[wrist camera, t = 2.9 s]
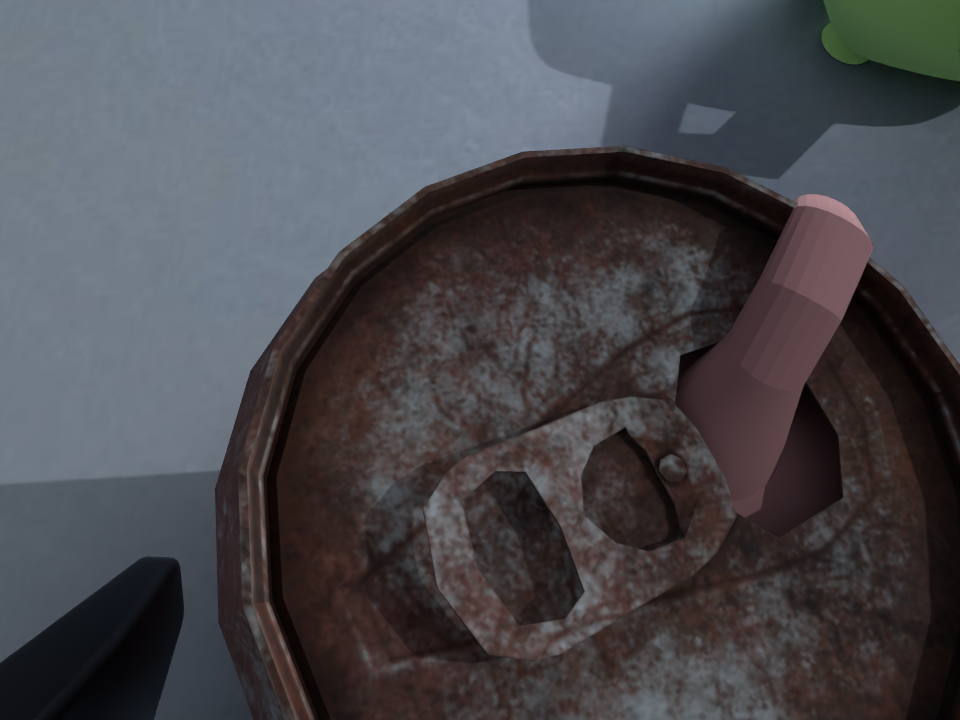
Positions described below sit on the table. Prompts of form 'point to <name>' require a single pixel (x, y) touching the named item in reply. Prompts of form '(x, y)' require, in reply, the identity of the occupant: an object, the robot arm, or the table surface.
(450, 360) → the can
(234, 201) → the table surface
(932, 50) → the teapot
